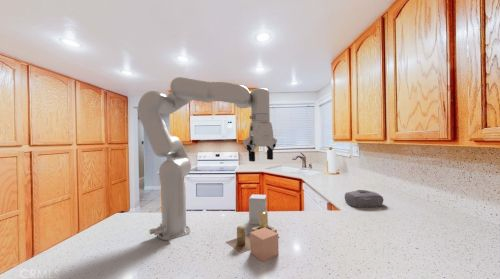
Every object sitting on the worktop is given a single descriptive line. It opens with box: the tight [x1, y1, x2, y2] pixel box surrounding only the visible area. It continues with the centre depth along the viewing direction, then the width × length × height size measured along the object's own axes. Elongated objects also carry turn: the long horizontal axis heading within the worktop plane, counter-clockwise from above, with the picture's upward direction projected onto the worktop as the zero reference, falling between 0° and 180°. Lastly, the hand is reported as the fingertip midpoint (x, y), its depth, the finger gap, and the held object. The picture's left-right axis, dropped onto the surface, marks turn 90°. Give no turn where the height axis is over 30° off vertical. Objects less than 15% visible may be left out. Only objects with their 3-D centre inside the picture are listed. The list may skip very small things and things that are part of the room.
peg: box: [259, 211, 269, 229], centre depth 83 cm, size 3×3×9 cm
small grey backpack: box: [344, 189, 384, 209], centre depth 123 cm, size 15×8×20 cm
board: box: [225, 224, 280, 254], centre depth 80 cm, size 18×10×7 cm, turn 127°
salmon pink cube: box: [249, 227, 279, 262], centre depth 70 cm, size 7×7×8 cm
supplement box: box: [248, 194, 268, 225], centre depth 98 cm, size 7×7×13 cm
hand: (261, 160), depth 88 cm, fingers open, 9 cm apart
